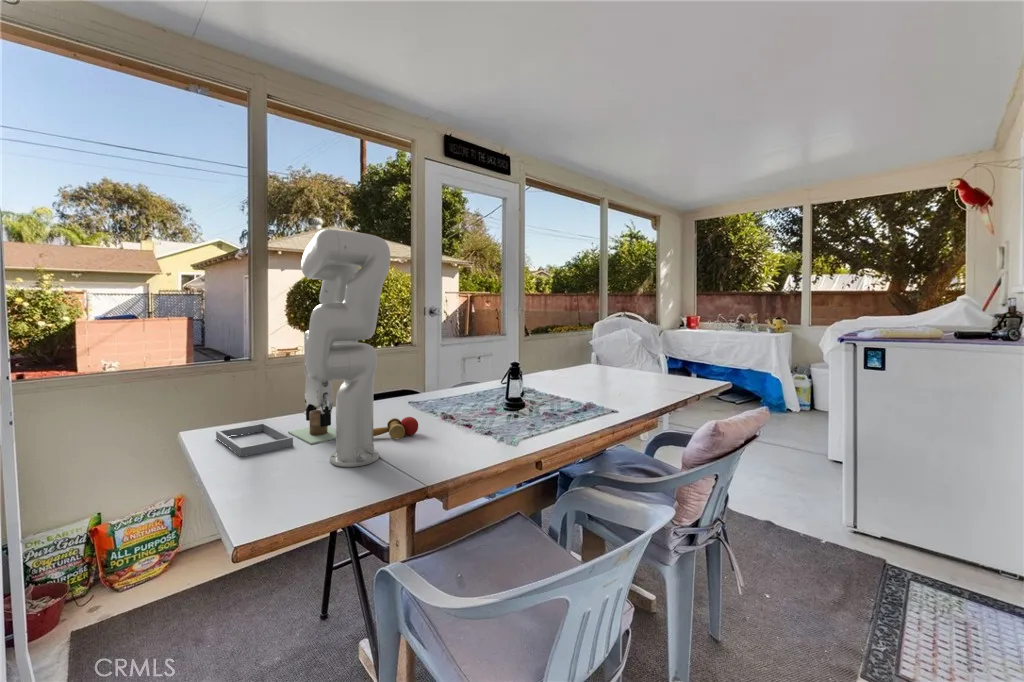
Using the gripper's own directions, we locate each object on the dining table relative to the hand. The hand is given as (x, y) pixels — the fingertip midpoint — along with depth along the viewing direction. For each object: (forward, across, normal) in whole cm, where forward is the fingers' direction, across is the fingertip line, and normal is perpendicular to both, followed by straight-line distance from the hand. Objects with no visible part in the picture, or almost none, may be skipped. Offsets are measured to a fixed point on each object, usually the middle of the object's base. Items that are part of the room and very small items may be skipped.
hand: (318, 422), depth 141 cm
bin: (+4, +5, +17) cm, 18 cm away
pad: (+4, 0, 0) cm, 4 cm away
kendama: (+4, -17, -15) cm, 23 cm away
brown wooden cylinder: (+3, 0, 0) cm, 3 cm away
